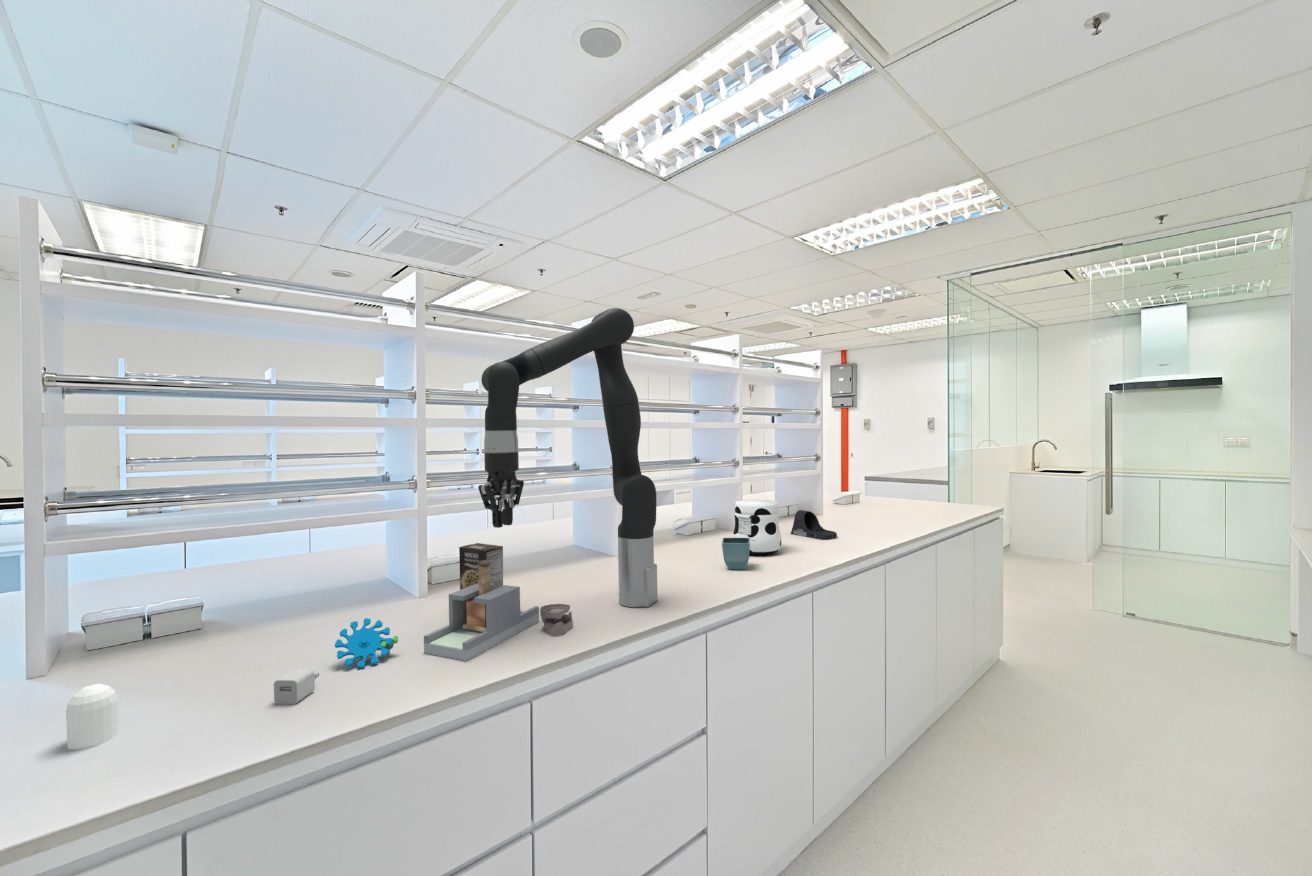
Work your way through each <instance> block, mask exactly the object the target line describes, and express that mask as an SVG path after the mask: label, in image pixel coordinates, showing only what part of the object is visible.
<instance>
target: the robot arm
mask: <svg viewBox="0 0 1312 876" xmlns="http://www.w3.org/2000/svg"><path fill="white" fill-rule="evenodd" d="M634 330H635V323H634V319H633V317H632V316H631V314H630V313H629V312H628V311H627V310H625V309H624V308H623V309H622V308H621V307H620V308H618V307H613V308H608V309H606V310H604V311H602V312H599V313H598V314H597V315H595V316H594V317H593V318H592V319H591V322H589V323H587V324H586V325H584V326H582V327H580V328H577V329H575V330H572V331H570V332H568V333H565V334H563V335H560V336H557V337H554V338H551V339H549V340H547V341H544V342H541V343H539V344H537V345H534V346H532V347H530V348H528V349H526V350H524V351H522V352H520V353H518V354H517V355H516V356H513V357H510V358H507V359H505V360H502V361H497V362H494V363H493V364H491V365H488V367H486V368H485V369H484V371H483V372H482V373H481V385H482V387H483V388H484V390H486V392H487V406H486V408H485V411H484V412H485V413H484V439H483V445H484V446H483V448H484V449H483V451H484V452H483V454H484V456H483V457H484V471H485V472H486V473H487V474H488V475H487V479H486V483H484V484H479V485H478V488H477V489H478V491H479V495H480V496H481V501H482V503H483V506H484V508H485V509H486V510H490V511H491V516H492V517H491V518H492V521H491V523H492V527H493V528H498V529H499V528H503V526H512V525H513V520H514V515H513V514H514V513H513V511H514V509H515V506H518V505H519V504H520V501H521V498H522V497H521V496H522V493H523V488H524V485H525V481H524V480H523V479H522V480H521V479H518V478H517V474H516V472H517V471H519V468H520V467H519V466H520V465H519V464H520V462H519V437H518V425H517V422H518V417H517V407H518V400H519V394H520V393H519V392H520V386H521V385H523V384H525V383H527V382H529V381H533V380H535V379H539V378H541V377H543V376H547V375H548V374H550V373H552V372H554V371H556V370H558V369H560V368H562V367H564V366H566V365H568V364H570V363H571V362H573V361H575V360H578V359H579V358H581V357H583V356H585V355H588V354H590V353H592V352H593V354H594V357H595V360H596V364H597V372H598V378H599V385H600V392H601V393H600V394H601V399H602V408H603V409H602V410H603V416H604V423H605V427H606V432H607V433H606V434H607V440H608V445H609V450H610V455H611V464H612V465H611V466H612V487H613V488H612V489H613V496H614V498H615V500H616V502H617V503H618V504H619V505H621V507H622V508H621V510H622V511H621V522H620V523H619V524H618V526H617V553H618V555H617V561H618V565H617V566H618V567H617V568H618V569H617V570H618V571H617V572H618V603H619V604H620V605H621V606H623V607H626V608H627V607H629V608H644V607H645V608H649V607H650V606H652V605H654V603H655V602H658V564H657V563H655V556H654V555H655V551H654V540H655V539H654V535H655V534H654V530H655V526H656V523H657V489H656V485H655V483H654V481H653V480H652V479H651V477H649V476H647V475H644V474H642V470H641V466H640V460H639V459H640V458H639V441H640V433H641V426H642V422H641V421H642V419H641V411H640V403H639V398H638V394H637V391H636V389H635V387H634V385H633V383H632V380H631V379H630V377H629V375H628V372H627V370H626V368H625V367H626V366H625V364H624V358H623V351H622V345H624V344H625V343H626V342H628V341H629V340H630V339H631V337H632V335H633V333H634Z"/></svg>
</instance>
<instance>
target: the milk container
mask: <svg viewBox="0 0 1312 876" xmlns="http://www.w3.org/2000/svg"><path fill="white" fill-rule="evenodd" d="M734 503H735V504H734V529H733V533H732V538H750V551H749V555H769V554H773V553H777V552H778V551H780V549H781V546H782V534H781V531H780V526H779V525H780V524H779V519H780V518H779V516H780V515H779V503H778V501H775V500H768V499H742V500H737V501H735V502H734Z"/></svg>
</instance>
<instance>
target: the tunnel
mask: <svg viewBox="0 0 1312 876" xmlns="http://www.w3.org/2000/svg"><path fill="white" fill-rule="evenodd" d="M520 587H521V586H516V585H507V584H505V585H504V584H503V586H502V587H499V588H497V589H494V588H495V584H491V590H492V589H494V590H492V591H490V592H487V593H485V594H482V595H480V596H479V583H477V584H475V585H472V586H469V587H467V588H464V589H461V590H460V589H459V590H456V591H453V592H450V593H448V622H449V623H448V624H447V625H445V626H443V627H441V628H438V629H436V630H434V631H432V632H430V633H427V634H424V635H423V653H424V654H427V655H431V656H432V655H433V656H437V657H444V658H449V659H454V660H459V661H462V662H463V661H465V662H468V661H470V660H472V659H474V658H475V657H477V656H479V655H480V654H482V653H484V652H486V651H489V650H490V649H491V648H493V647H495V646H497V645H499V644H500V643H502V642H505V641H506V640H508V639H509V638H510V639H511V637H513V636H515V635H517V634H519V633H521V632H522V631H524V630H526V629H528V628H531V627H532V626H533V625H535V624H537V623H539V622H540V606H538V605H534V606H533V607H530V608H529V609H527V610H521V588H520ZM471 599H474V600H475V603H482V604H486V627H487V630H486V631H484V632H481V631H474V630H468V629H463V625H464V624H466V623H467V607H466V601H469V600H471Z"/></svg>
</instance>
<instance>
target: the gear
mask: <svg viewBox="0 0 1312 876" xmlns="http://www.w3.org/2000/svg"><path fill="white" fill-rule="evenodd" d="M371 622H372V619H370V618H368V617H367V618H366V617H365V618H364V619H363V623H362V624H363V625H362V627H360V629H357V628H358V626H359V622H358V621H356V620H354V621H351V622H350V628H351V630H352V634H350V635H349V634H348V629H347V628H343V629H342V630H340V631H339V636H340V637H342V638H344V639H346V641H347V642H346V643H343V640H342V639H336V640H335V643H334V648H336V649H339V648H344V649H346V650H347V651H344V650H337V651H336V658H337V660H341V659H343V658H344V657H347V656H353V657H350V658H346V659H345V660H344V665H345V666H346V667H348V668H349V667H351V666H352V664H353V663H354V662H355V661H356V660H357V659H360V658H361V659H362V660H360V661H358V662H357V665H356V668H358V669H365V667H366V661H367V659H368V657H370V656H372V658H371V659H370V665H371V666H373V665H377V664H379V658H378V656H377V655H376V654H377V652H378V651H380V654H381V655H380V656H381V657H386V656H387V655H388V654H389V653H390V652H391V650H392V649H393V648H394V645H395V644H398V642H399V636H398V635H393V637H388V638H387V637H382V636H380V635H384V636H389V635H390V633H391V629H390V627H388V626H387V627H385V628H383V629H381V630H375V629H379V628H382V627H383V624H384V623H383V621H381V620H380V619H378V620H376V622H375V623H374V624H373V625H372V626H371V627H367V626H369V625H371Z"/></svg>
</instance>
